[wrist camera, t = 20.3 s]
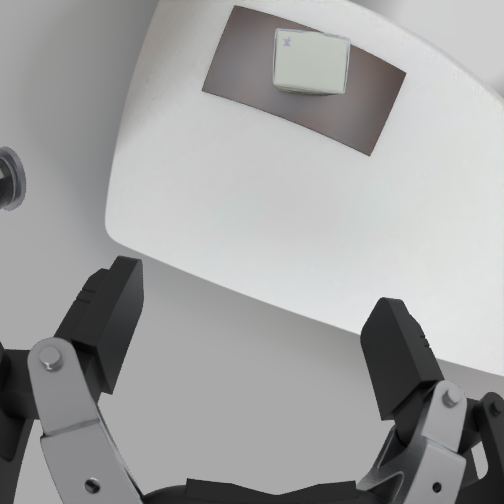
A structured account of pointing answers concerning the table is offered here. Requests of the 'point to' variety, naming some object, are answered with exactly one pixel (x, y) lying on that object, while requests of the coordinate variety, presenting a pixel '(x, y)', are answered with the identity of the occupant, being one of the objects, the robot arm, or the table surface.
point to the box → (310, 62)
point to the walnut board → (296, 104)
